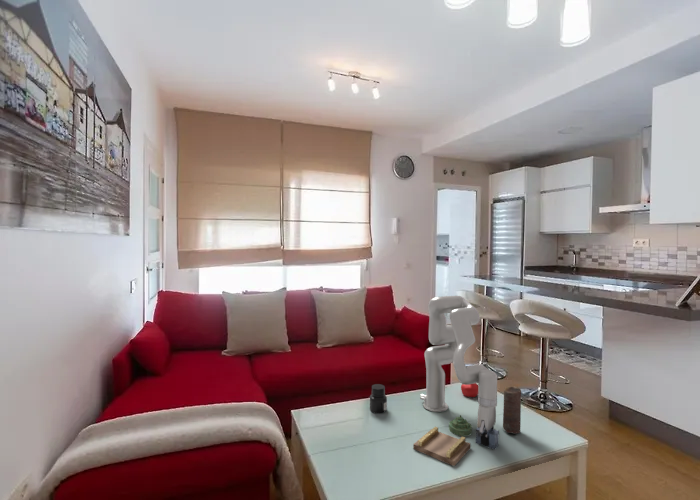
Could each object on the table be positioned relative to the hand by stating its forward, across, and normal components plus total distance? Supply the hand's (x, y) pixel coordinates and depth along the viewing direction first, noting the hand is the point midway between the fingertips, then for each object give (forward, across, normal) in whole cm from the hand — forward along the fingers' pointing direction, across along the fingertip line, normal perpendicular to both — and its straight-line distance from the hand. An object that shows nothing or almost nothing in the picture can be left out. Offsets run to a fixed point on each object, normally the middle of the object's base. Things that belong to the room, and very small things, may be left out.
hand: (487, 441), depth 156 cm
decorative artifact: (+1, -3, -13) cm, 14 cm away
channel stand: (+1, +16, -13) cm, 21 cm away
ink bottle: (+1, +5, -54) cm, 54 cm away
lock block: (+1, 0, 0) cm, 1 cm away
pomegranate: (+1, -43, -25) cm, 50 cm away
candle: (+1, -17, +5) cm, 18 cm away
